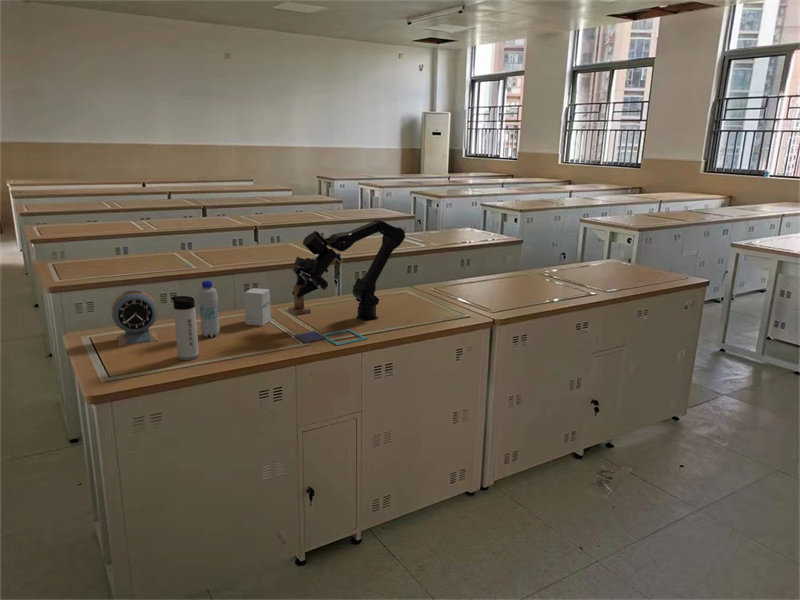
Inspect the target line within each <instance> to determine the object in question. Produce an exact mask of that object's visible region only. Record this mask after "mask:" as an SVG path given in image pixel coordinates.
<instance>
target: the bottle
mask: <svg viewBox="0 0 800 600" xmlns="http://www.w3.org/2000/svg"><path fill="white" fill-rule="evenodd" d="M197 293H198V294H197V295H198V296H197V300H198V304H199V313H200V332H201V335H202V337H205V338H209V336H210V338H213V337H217V336H218V335H219V334H220V331H221V330H220V329H221V327H220V321H219V309H218V303H219V296H218V292H217V288H214V287H213V282H212V281H211V280H204V281H202V283H201V288H200V289H199V290H198V292H197Z"/></svg>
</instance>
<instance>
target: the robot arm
mask: <svg viewBox="0 0 800 600" xmlns="http://www.w3.org/2000/svg"><path fill="white" fill-rule="evenodd" d="M376 233H379V234H382V239H381V240H382V242H381V245H380V248H379V249H378V252H377V254H376V255H375V257H374V259H373V261H372V263H371V265H370V267H369V268H368V270H367V272H366V274H365V276H363V277H362V278H359V277H357V279H356V281H355V283H354V284H353V285H352V288H353V289H352V294H353V297H355V300H356V302H358V306H357V315H356V318H358V319H360V320H362V321H364V322H367V321H373V320H376V319H379V317H378V316H377V306H378V304H379V303H380V299H379V298H378V297H377V296H376V295H375V292H376V288H377V287H376V285H377V281H378V280H379V277H380V275H381V273H382V272H383V270H384V268H385V266H386V264H387V262H388V260H389V258H390V257H391V256H392V253H393V251H394V250H396V249H397V248H398V247H399V246H401V244H402V243H403V242H404V241H405V238H406V233H405V230H404V229H403V228H402V227H398V226H393V225H391V224H388V223H387V222H385V221H384V220H381V219H375V220H374V219H373V221H371V222H369V223H367V224H364V225H362V226H359V227H357V228H355V229H352V230H349V231H342V232H337V233H333V234H331V235H330V236H329V237H326V238H324V237H323V236H322V235H321V234H320V233H319V231H316V230H314V231H313V232H312V233H310V234H308V235H307V236H305V238H304V239H303V241H302V245H303V246H304V247H305V248H306V249H307V250H308V251H309V252H311V253H312V254H313V255H317V256H316V257H315V258H310V257H306V258H302V257H300V256H296V258H295V261H294V263H293V265H294V268H293V269H292V271H293V273H295V276H296V281H295V282H296V283H295V285H303V286H302V288H301V289H300V291H299V292H298V294H297V297H298V298H299V297H301V296H303V295H304V296H305V295H307V294H309V293H311V292H314V291H316V290H319V289H321V290H324V291H326V289H327V288H328V287H329V283H328V281H327V280H326V279H324V277H322V276H323V275H324V274H325V273H328V272H329V267H330V266H331V265H332V264H333V262H334V261H338V262H341V261H342V258H341V253H339V252H346V251H347V250H349V249H350V248H351V247H352V246H353V245H354V244H355V243H356V242H359V241H361V240H363V239H366V238H367V237H370V236H372V235H374V234H376ZM335 250H336V251H338V252H336V251H335ZM319 287H320V288H319ZM292 295H293V296H294V289H293V290H292Z"/></svg>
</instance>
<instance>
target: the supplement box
mask: <svg viewBox="0 0 800 600" xmlns="http://www.w3.org/2000/svg"><path fill="white" fill-rule="evenodd" d="M270 293H271V292H270V289H268V288H255V287H254V288H250V289H249V290H247V291H245V292H244V293H243V297H244V315H245V316H244V318H245V325H249V326H261V327H264V325H266V324H267V323H269V322H270V321H271V319H272V318H271V294H270Z"/></svg>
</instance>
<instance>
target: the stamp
mask: <svg viewBox="0 0 800 600" xmlns="http://www.w3.org/2000/svg"><path fill="white" fill-rule="evenodd" d="M302 286H303V285H296V284H295V285H293V290H294V295H293V303H294V304H293V305H294V306H289V307H287V312H288V313H289V314H292V315H293V316H295V317H297V316H298V317H299V316H303V315H309V314H311V313H312V312H311V308H310V307H308V306H306V305H305V295H303V296H301V297H299V298H298V297H297V294H298V292H299V291H300V289H301V288H302Z"/></svg>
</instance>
